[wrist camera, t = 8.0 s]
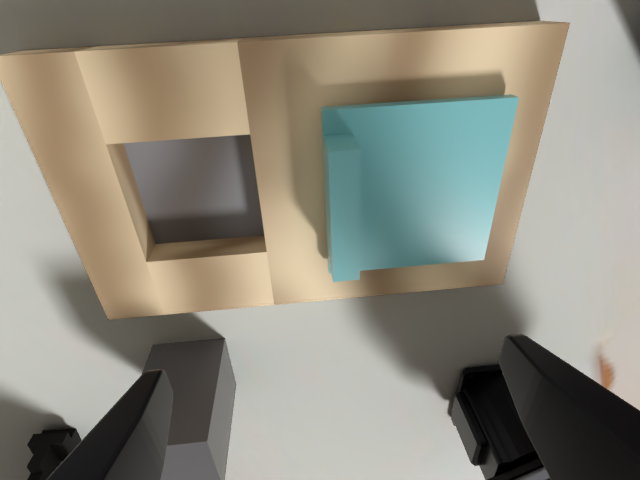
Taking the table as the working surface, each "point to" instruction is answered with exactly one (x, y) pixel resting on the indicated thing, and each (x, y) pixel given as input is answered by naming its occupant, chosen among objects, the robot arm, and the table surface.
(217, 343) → the plug
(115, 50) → the socket plate
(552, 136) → the table surface
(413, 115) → the panel
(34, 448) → the security camera
